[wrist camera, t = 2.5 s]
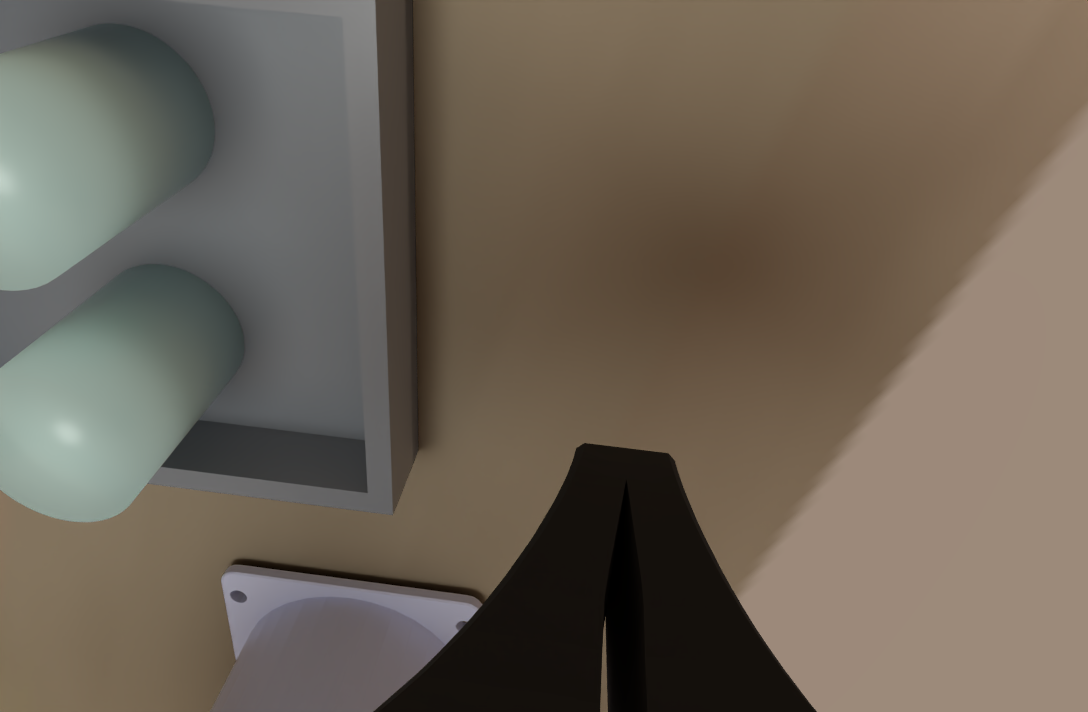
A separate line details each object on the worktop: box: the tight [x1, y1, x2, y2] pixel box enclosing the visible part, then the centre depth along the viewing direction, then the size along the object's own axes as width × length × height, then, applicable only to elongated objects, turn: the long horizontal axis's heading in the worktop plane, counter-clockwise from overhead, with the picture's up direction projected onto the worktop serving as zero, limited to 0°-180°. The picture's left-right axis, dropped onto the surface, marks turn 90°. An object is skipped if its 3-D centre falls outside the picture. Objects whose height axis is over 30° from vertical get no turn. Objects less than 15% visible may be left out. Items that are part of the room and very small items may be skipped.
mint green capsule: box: [0, 23, 215, 291], centre depth 16 cm, size 4×4×5 cm
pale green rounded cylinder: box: [0, 264, 245, 522], centre depth 19 cm, size 4×4×5 cm
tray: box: [0, 0, 418, 515], centre depth 19 cm, size 12×12×3 cm
